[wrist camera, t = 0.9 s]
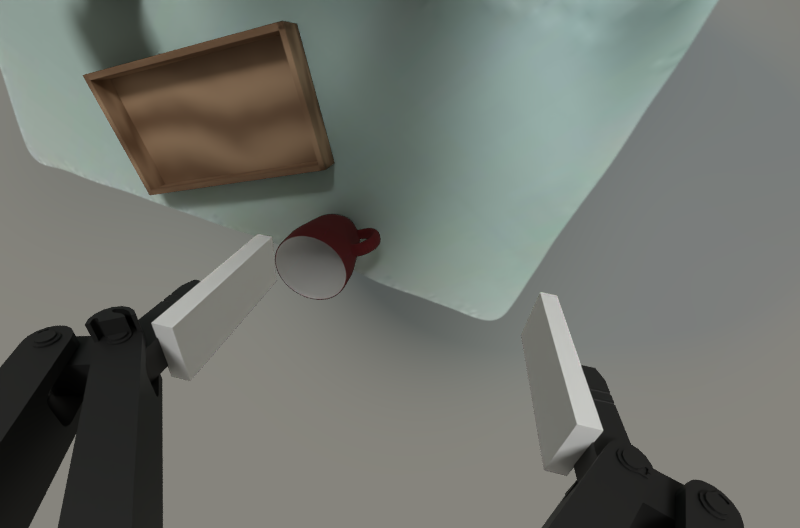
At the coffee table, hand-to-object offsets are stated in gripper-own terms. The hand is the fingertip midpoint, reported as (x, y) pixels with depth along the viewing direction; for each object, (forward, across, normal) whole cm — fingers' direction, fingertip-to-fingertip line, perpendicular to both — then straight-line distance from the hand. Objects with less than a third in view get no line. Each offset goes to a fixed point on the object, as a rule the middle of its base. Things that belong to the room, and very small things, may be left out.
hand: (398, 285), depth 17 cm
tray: (+25, -26, 0) cm, 36 cm away
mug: (+25, -10, -11) cm, 29 cm away
